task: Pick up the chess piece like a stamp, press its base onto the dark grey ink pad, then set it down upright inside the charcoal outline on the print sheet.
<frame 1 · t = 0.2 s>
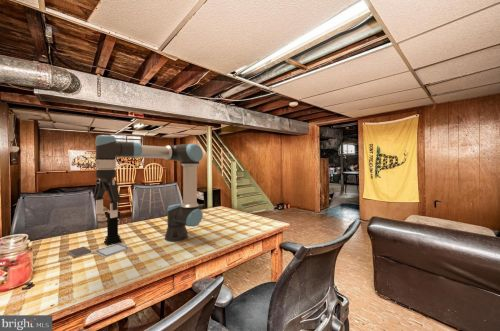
hand: (106, 215, 94), 28 cm above the table, fingers open, 13 cm apart
print sheet: (112, 250, 122), on the table
ink pad: (79, 252, 118), on the table
chess piece: (112, 242, 134), on the table
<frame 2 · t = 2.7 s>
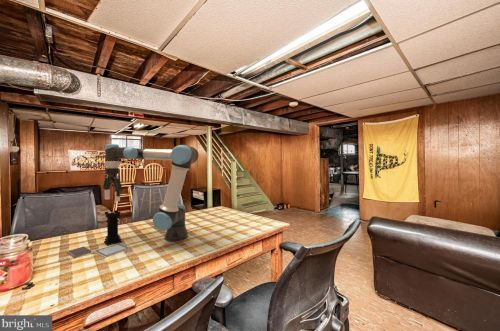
hand: (112, 200, 134), 28 cm above the table, fingers open, 13 cm apart
nothing on the table moved.
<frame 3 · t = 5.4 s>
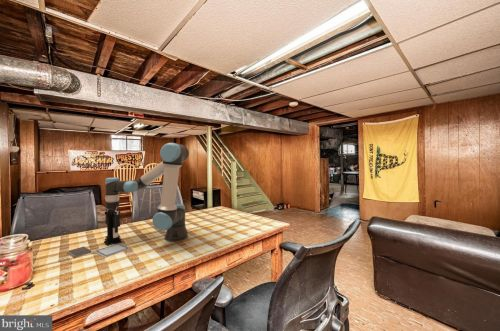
hand: (112, 236, 134), 4 cm above the table, fingers closed on chess piece, 7 cm apart
chess piece: (112, 242, 134), on the table, touching gripper
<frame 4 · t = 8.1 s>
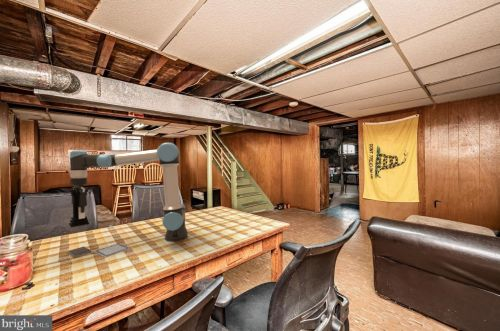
hand: (79, 217, 118), 21 cm above the table, fingers closed on chess piece, 7 cm apart
chess piece: (79, 224, 118), point 16 cm above the table, touching gripper
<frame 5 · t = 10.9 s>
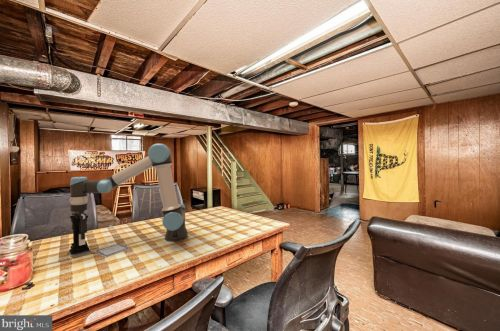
hand: (79, 243, 118), 6 cm above the table, fingers closed on chess piece, 7 cm apart
chess piece: (79, 250, 118), point 1 cm above the table, touching gripper, ink pad
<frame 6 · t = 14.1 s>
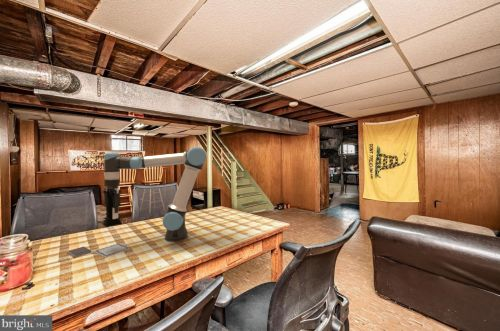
hand: (112, 217, 122), 20 cm above the table, fingers closed on chess piece, 7 cm apart
chess piece: (112, 224, 122), point 15 cm above the table, touching gripper
when the fingers open (6 cm above the table, at t = 16.8 s): chess piece drops 1 cm, resting on print sheet.
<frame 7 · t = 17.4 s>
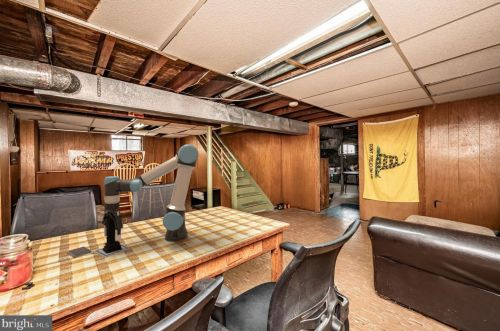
hand: (112, 237, 122), 7 cm above the table, fingers open, 13 cm apart
chess piece: (112, 249, 122), resting on print sheet
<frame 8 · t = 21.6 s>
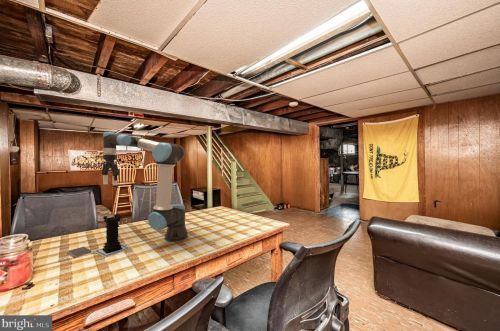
hand: (110, 184, 143), 37 cm above the table, fingers open, 13 cm apart
nothing on the table moved.
at the end: chess piece inside the target area on the print sheet (0.0 cm from its centre), point 0.1 cm above the print sheet's base; chess piece tilted 0°; the gripper is holding nothing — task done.
